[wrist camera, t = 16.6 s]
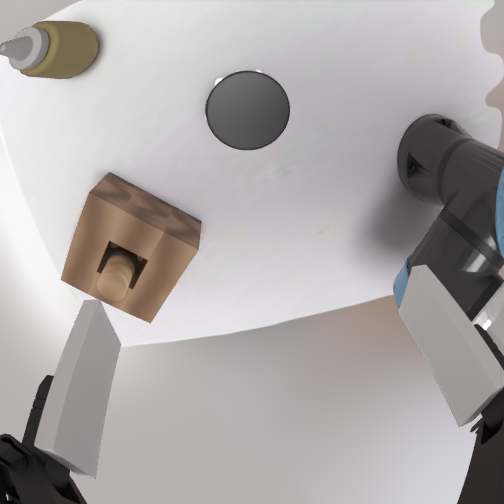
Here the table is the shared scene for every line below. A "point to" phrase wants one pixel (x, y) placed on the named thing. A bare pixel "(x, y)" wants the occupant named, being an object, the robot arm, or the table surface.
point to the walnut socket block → (131, 244)
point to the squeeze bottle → (52, 49)
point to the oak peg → (117, 274)
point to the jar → (247, 110)
